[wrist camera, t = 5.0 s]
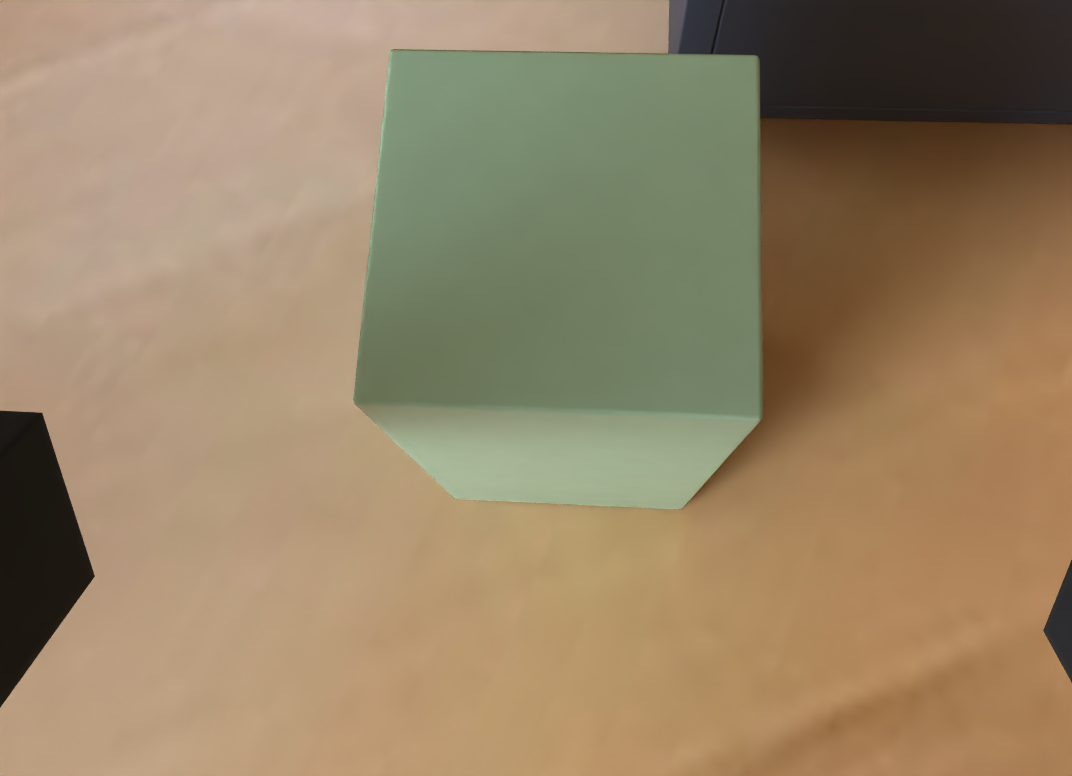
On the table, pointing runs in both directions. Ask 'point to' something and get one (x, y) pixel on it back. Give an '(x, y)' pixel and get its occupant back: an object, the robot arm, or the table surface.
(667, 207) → the block
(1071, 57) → the bin
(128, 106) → the table surface
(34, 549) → the robot arm
